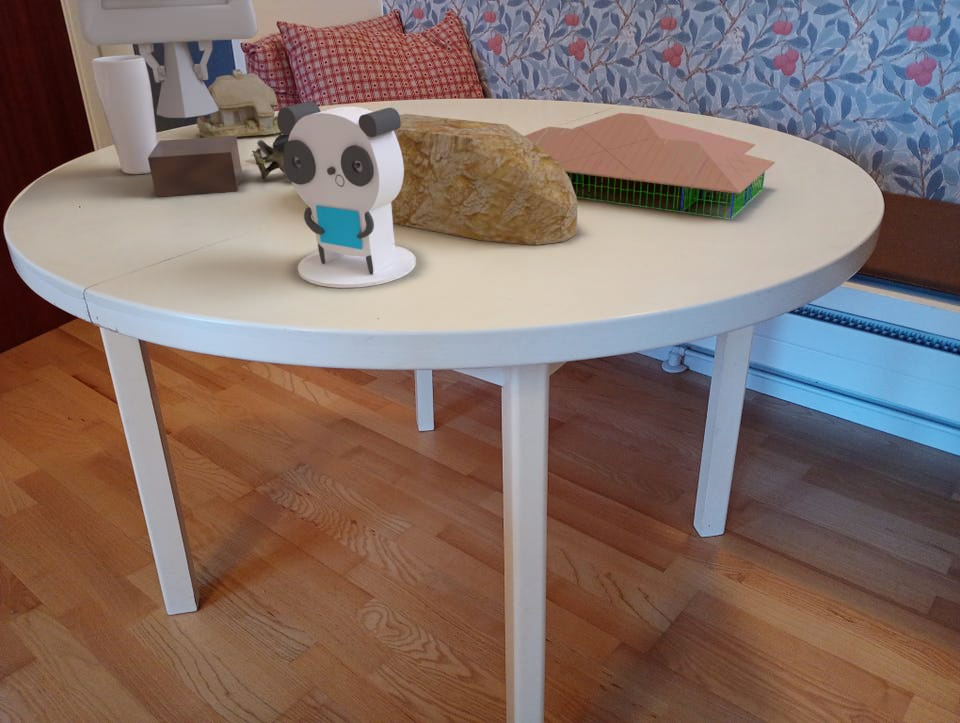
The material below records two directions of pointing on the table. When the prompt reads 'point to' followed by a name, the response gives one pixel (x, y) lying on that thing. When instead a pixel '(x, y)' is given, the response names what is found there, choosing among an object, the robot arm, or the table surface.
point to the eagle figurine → (271, 155)
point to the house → (656, 157)
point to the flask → (182, 86)
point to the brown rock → (481, 183)
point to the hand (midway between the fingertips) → (182, 80)
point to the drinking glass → (127, 108)
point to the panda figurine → (347, 191)
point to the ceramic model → (240, 107)
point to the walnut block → (195, 166)
